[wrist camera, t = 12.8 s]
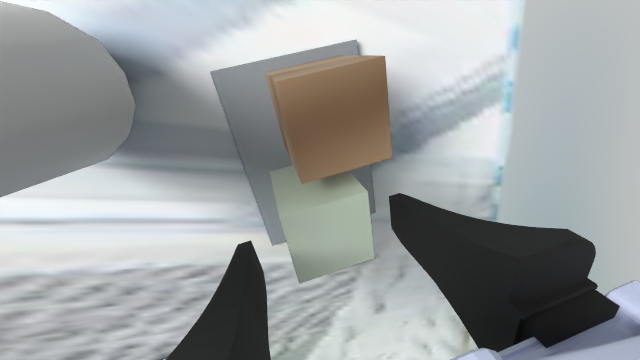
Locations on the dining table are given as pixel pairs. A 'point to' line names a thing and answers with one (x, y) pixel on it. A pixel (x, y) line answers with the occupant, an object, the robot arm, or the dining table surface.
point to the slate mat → (269, 126)
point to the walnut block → (333, 114)
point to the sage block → (323, 221)
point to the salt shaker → (56, 99)
